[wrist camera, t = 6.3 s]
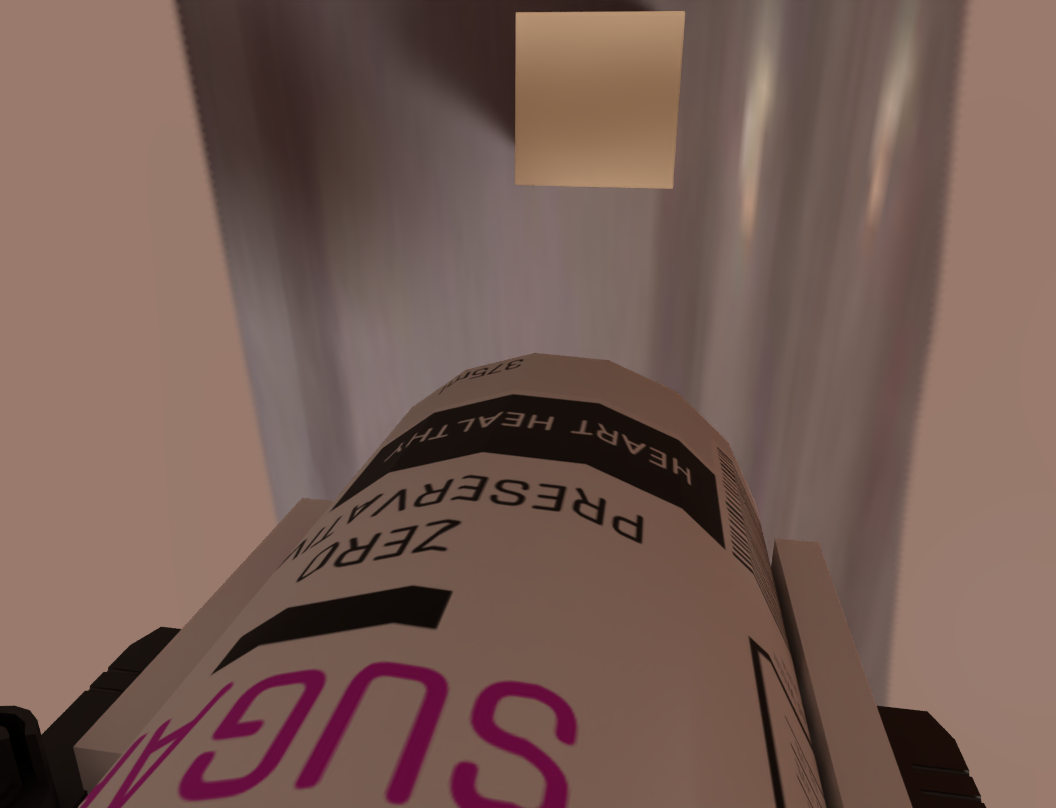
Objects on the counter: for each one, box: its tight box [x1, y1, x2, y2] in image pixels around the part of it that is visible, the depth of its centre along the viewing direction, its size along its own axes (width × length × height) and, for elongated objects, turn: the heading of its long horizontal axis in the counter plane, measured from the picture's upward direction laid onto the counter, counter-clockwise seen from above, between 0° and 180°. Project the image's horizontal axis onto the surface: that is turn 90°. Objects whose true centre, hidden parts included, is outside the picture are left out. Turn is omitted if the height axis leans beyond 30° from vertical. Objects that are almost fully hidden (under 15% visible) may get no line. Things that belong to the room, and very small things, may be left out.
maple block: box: [515, 11, 685, 189], centre depth 22 cm, size 4×4×6 cm
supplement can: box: [78, 353, 827, 808], centre depth 10 cm, size 8×8×15 cm
